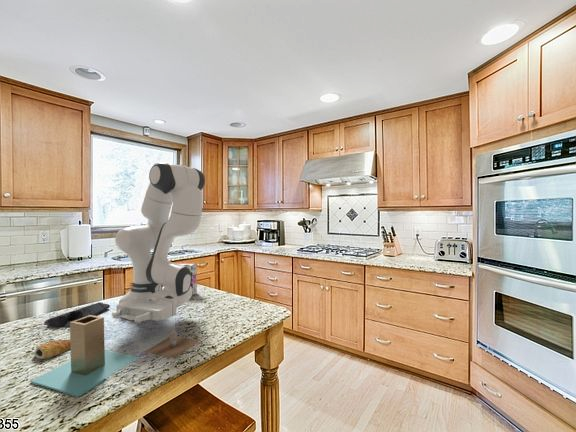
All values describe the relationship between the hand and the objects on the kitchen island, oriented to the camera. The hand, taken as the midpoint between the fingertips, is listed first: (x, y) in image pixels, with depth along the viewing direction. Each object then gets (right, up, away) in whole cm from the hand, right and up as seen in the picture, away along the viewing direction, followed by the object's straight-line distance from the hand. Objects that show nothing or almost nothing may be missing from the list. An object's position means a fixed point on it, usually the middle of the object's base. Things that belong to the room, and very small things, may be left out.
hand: (124, 318), depth 89 cm
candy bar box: (-2, -9, +59) cm, 60 cm away
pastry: (-23, -11, -1) cm, 25 cm away
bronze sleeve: (-4, -10, -11) cm, 16 cm away
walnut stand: (+15, -10, +1) cm, 18 cm away
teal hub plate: (-4, -11, -11) cm, 16 cm away
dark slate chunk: (-37, -11, +29) cm, 48 cm away
